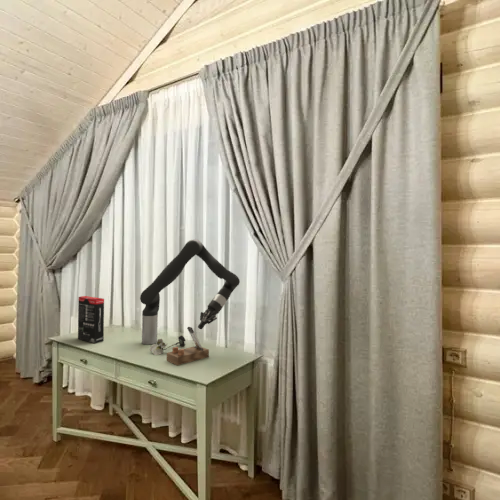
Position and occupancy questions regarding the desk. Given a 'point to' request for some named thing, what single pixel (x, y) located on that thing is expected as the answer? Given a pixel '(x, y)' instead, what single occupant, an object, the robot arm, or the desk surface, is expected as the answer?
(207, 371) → the desk surface
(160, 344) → the artificial flower
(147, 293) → the robot arm
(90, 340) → the graphics card box
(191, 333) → the lever
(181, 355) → the lever base
